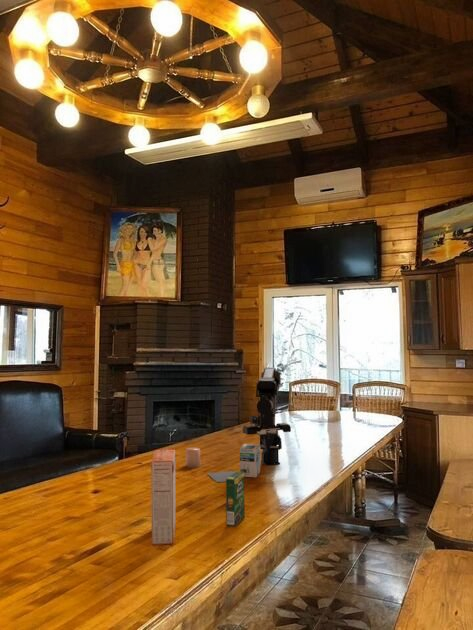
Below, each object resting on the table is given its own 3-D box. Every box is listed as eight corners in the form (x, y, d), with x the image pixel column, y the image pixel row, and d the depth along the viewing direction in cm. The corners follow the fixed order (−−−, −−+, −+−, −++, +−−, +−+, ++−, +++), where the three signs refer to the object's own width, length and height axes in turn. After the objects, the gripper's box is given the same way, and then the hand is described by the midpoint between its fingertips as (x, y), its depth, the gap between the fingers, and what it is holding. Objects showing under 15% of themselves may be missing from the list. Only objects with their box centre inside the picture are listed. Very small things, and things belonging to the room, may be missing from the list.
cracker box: (154, 525, 136) (154, 449, 137) (176, 524, 136) (176, 448, 138) (149, 545, 122) (150, 460, 123) (173, 545, 122) (174, 460, 124)
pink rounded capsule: (197, 463, 209) (197, 447, 209) (201, 466, 203) (201, 449, 203) (184, 464, 206) (184, 448, 207) (187, 468, 201) (187, 450, 201)
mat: (233, 471, 194) (233, 470, 194) (245, 479, 182) (245, 479, 182) (206, 474, 191) (206, 473, 191) (217, 482, 179) (217, 481, 179)
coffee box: (235, 527, 134) (234, 479, 135) (225, 526, 135) (225, 478, 136) (245, 518, 141) (245, 472, 142) (236, 517, 142) (235, 471, 143)
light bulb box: (256, 478, 184) (256, 449, 185) (238, 476, 185) (239, 447, 186) (260, 471, 194) (261, 444, 195) (243, 470, 196) (244, 443, 197)
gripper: (279, 407, 205) (279, 445, 204) (237, 409, 198) (237, 448, 197) (291, 410, 194) (291, 450, 193) (247, 413, 188) (248, 454, 187)
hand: (267, 450), depth 193 cm, fingers closed
